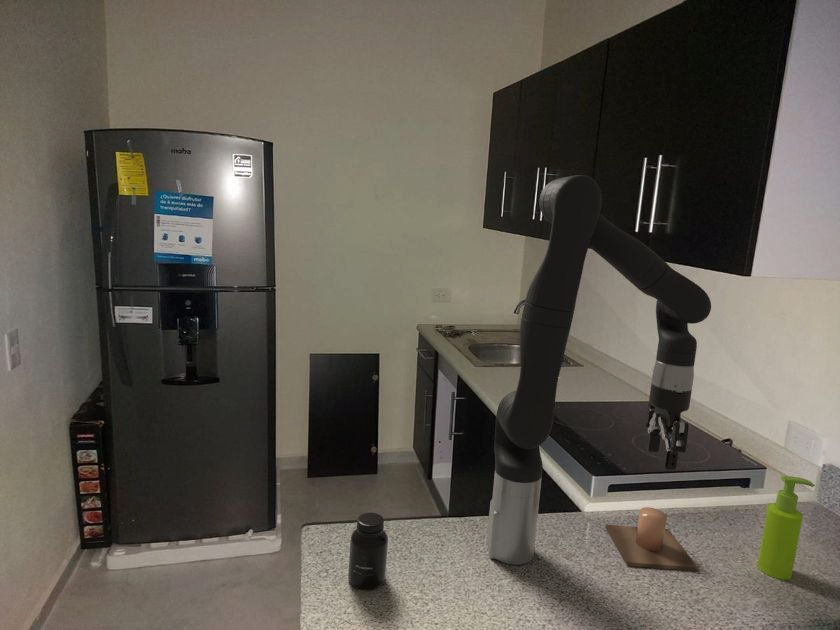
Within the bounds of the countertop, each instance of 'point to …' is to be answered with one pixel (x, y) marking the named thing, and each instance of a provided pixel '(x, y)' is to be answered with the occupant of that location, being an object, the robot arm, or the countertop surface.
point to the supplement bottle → (368, 552)
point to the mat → (639, 557)
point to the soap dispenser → (781, 531)
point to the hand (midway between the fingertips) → (660, 459)
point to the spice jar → (651, 529)
